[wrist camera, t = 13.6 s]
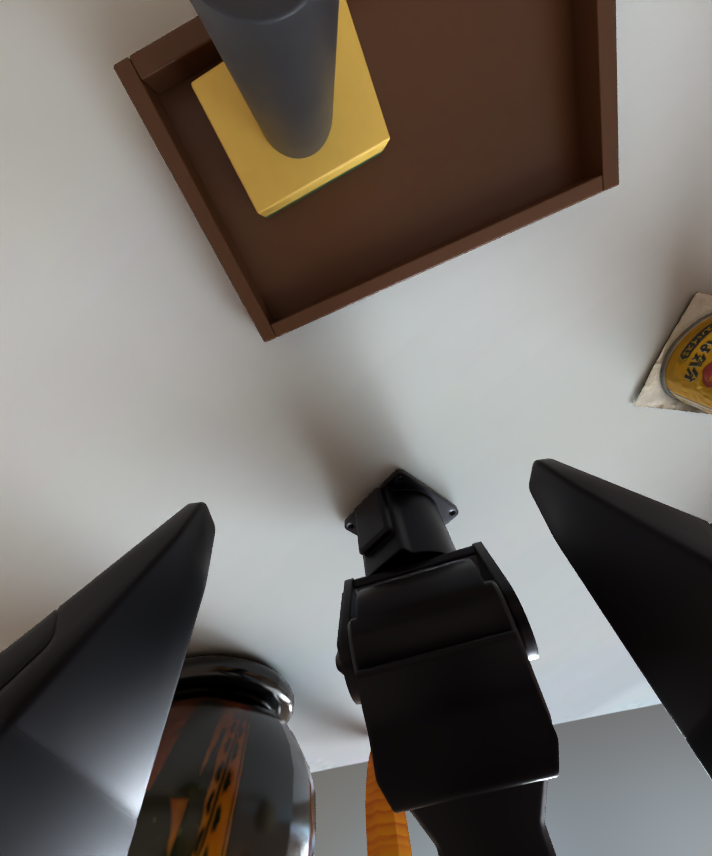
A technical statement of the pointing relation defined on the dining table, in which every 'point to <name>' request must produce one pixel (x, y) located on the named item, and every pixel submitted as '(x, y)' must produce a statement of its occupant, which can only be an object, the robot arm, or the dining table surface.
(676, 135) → the dining table surface
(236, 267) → the tray
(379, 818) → the carrot
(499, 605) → the robot arm
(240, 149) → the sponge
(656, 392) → the condiment
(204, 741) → the amphora vase
